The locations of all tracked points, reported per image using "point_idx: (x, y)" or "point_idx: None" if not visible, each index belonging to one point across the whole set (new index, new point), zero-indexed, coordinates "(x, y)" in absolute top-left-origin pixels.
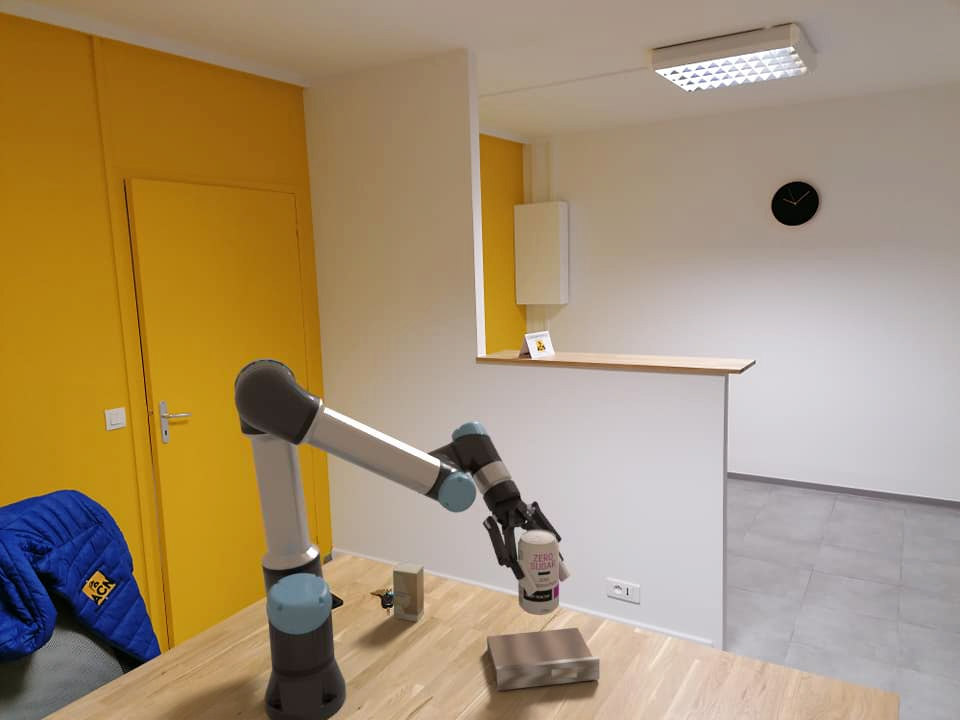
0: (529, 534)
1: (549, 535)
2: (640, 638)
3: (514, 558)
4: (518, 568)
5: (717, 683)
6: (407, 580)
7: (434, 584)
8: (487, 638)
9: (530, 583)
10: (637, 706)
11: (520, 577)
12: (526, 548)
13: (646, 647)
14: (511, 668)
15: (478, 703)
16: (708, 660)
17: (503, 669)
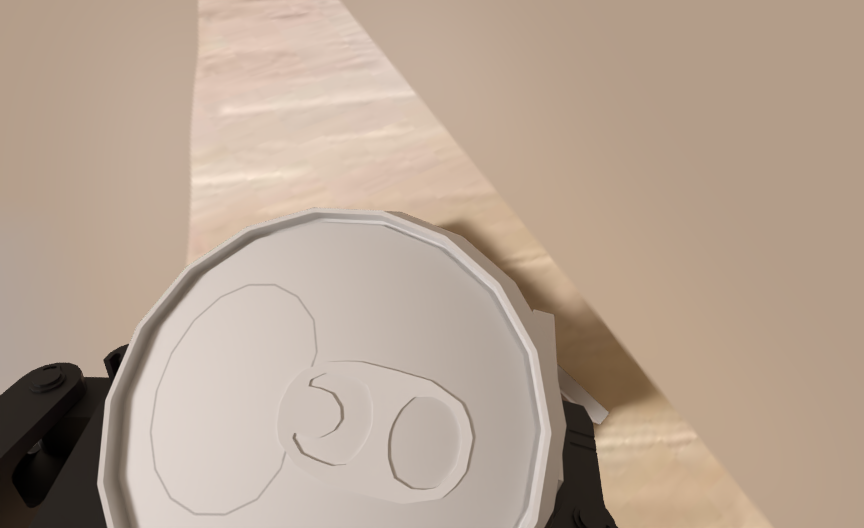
0: None
1: (204, 331)
2: (195, 235)
3: (600, 522)
4: (573, 457)
5: (283, 57)
6: None
7: None
8: None
9: (554, 347)
10: (435, 140)
11: (582, 414)
12: (558, 429)
13: (226, 209)
14: (576, 382)
15: (650, 424)
16: (215, 93)
17: (594, 399)
